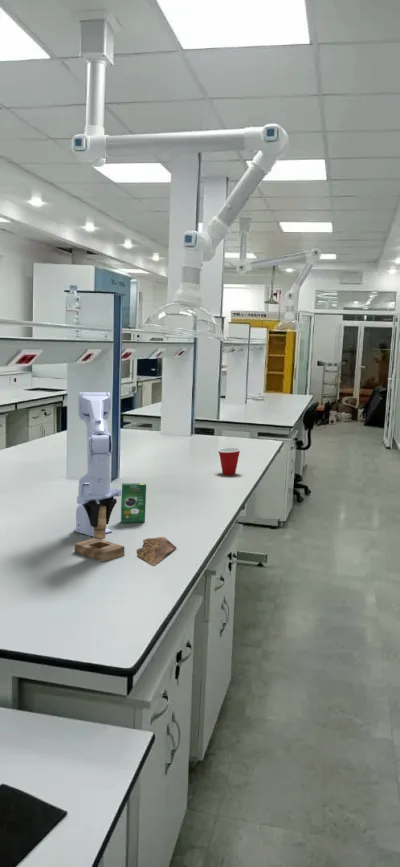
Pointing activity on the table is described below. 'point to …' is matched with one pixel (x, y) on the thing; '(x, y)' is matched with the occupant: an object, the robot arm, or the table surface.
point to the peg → (100, 523)
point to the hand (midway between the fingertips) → (99, 525)
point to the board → (99, 549)
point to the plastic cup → (229, 460)
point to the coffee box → (133, 502)
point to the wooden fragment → (155, 550)
